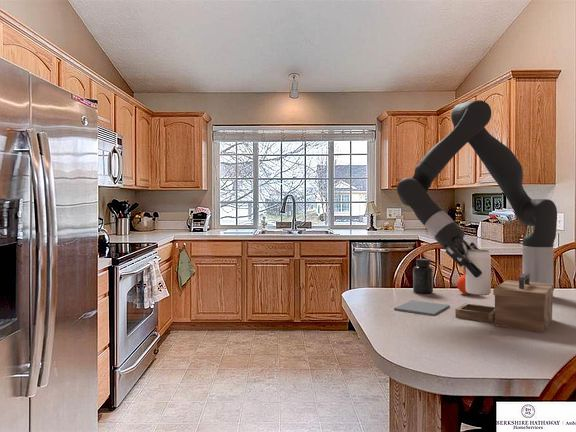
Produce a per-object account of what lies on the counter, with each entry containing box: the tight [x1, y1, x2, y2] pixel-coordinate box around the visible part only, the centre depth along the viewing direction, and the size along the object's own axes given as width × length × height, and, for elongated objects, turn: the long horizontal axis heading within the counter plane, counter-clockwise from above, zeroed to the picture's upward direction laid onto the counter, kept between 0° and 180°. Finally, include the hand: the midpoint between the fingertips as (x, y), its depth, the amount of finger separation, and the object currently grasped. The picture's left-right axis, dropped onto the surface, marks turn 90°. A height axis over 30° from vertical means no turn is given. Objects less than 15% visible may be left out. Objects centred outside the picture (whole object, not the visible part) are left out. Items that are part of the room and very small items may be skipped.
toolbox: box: [454, 273, 555, 334], centre depth 119 cm, size 17×22×13 cm
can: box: [465, 248, 492, 296], centre depth 123 cm, size 6×6×12 cm
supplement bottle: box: [412, 258, 434, 295], centre depth 158 cm, size 7×7×12 cm
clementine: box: [456, 274, 470, 295], centre depth 154 cm, size 8×7×7 cm
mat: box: [393, 300, 451, 317], centre depth 133 cm, size 14×12×1 cm
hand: (484, 274), depth 122 cm, fingers closed on can, 6 cm apart
